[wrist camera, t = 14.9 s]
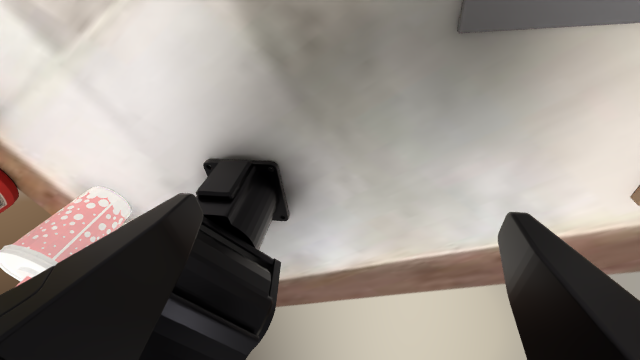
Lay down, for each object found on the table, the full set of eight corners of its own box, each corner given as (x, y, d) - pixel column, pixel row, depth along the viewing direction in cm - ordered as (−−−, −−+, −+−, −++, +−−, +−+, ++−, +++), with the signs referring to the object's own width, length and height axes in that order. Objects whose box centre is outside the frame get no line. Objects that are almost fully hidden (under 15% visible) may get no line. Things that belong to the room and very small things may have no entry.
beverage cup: (72, 191, 31) (-93, 320, 20) (98, 172, 28) (-78, 310, 18) (120, 227, 34) (-3, 357, 23) (149, 213, 31) (23, 354, 20)
